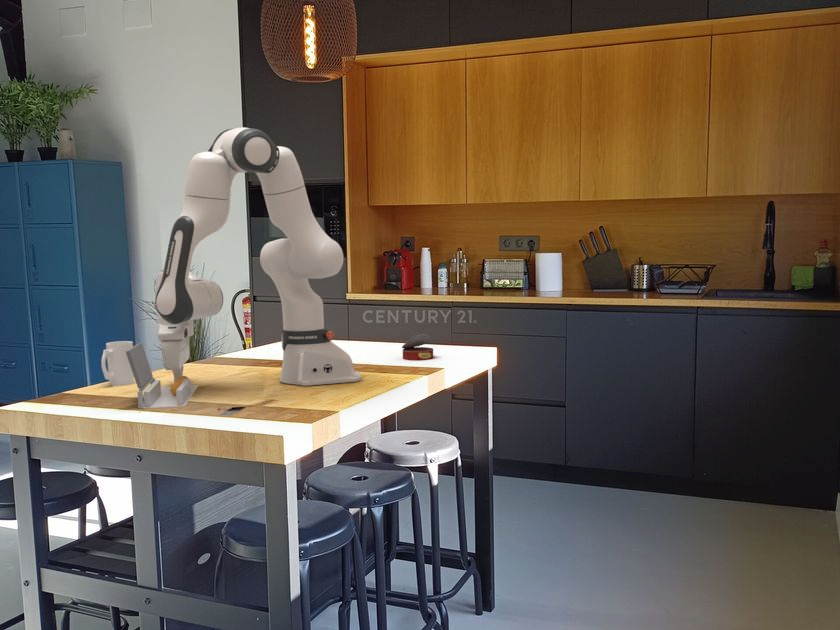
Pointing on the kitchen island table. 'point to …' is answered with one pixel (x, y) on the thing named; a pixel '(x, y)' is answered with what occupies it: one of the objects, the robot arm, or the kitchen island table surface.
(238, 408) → the knife
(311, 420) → the kitchen island table surface
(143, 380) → the lid
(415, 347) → the canned food
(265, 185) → the robot arm
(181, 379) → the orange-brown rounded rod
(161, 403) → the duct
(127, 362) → the mug
